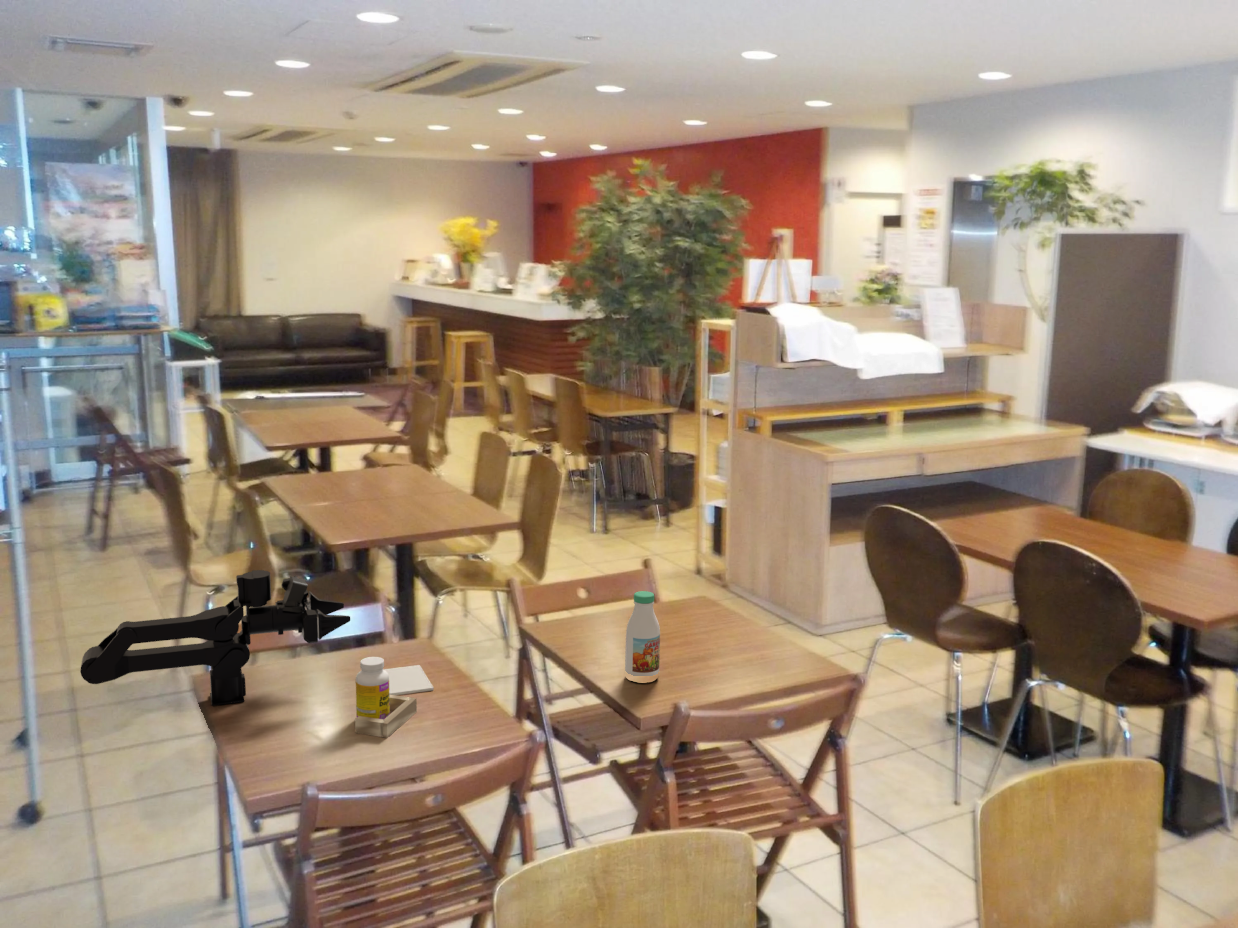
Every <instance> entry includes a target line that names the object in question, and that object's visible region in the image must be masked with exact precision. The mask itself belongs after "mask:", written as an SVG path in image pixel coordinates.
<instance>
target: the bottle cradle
mask: <svg viewBox="0 0 1238 928" xmlns="http://www.w3.org/2000/svg"><path fill="white" fill-rule="evenodd" d="M389 699H390V715H389V716H387V717H386V718H385V719H384V720H383V719H376V718H370V717H363V716H358V717H357V716H356V717H355V719H354V723H355V727H354V730H355V732H354V733H355V734H359V735H366V736H371V737H379V738H386V739H387V738H389V737H390V736H392V734H393V733H395V732H396V731H397V730H398V729H399V728H400V727H402V726H403V725H404V724H405V723H406V722H407V721H408V720H409V719H411V718H412V717H413V716H414V715H415V714H416V713H417V710H418V709H417V708H418V706H417V705H418V704H417V697H410V696H409V697H408V696H402V695H390V694H389Z"/></svg>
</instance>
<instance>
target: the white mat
mask: <svg viewBox="0 0 1238 928" xmlns="http://www.w3.org/2000/svg"><path fill="white" fill-rule="evenodd" d="M383 670H385V671H386V672H387V673H388V674H389V694H390V695H397V696H402V695H409V694H415V693H423V692H430V691H432V692H433V691H434V690H435V688H434V685H433V684H432V682H431V681H430V679H429V678H428V676H427V674H426V672H425V671H424V669H423V668H422V666H421V665H420V664H417V665H416V664H414V665H408V666H400V667H392V668H383Z"/></svg>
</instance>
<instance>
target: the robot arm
mask: <svg viewBox="0 0 1238 928" xmlns="http://www.w3.org/2000/svg"><path fill="white" fill-rule="evenodd" d="M235 578H236V581H235V582H236V585H237V596H236V597H234V598H233V599H232V600H231V601H229V602H227V604H226V605H224V606H222V605H221V606H217V607H214V608H210V609H205V610H203V611H201V612H199V613H197V614H193V615H190V616H189V615H188V616H178V617H169V618H160V619H159V618H158V619H149V620H139V621H137V620H136V621H130V620H129V621H128V620H126V621H123V622H121V623H120V624H119V625H118V626H117V627H116V629H114V630H113V631H112V632H111V633H110V634H108V635H107V636H106V637H105V638H103V640H102V641H101V642H100V643H98V645H95V646H92V647H90V648H88V650H86V651H85V652H84V653H83V655H82V659H81V664H80V675H81V678H82V679H83V680H84V681H85V682H87V683H88V684H90V685H100V684H104V683H106V682H112V681H115V680H117V679H119V678H122V677H123V676H126V675H128V674H131V673H132V674H133V673H140V672H149V671H156V670H158V671H159V670H168V669H177V668H184V667H185V668H186V667H195V666H208V667H210V670H209V680H210V681H209V682H210V683H209V684H210V693H209V695H210V703H211V706H213V707H214V706H223V705H230V704H236V703H244V702H245V696H247V693H246V691H247V688H246V675H245V673H243V670H242V668H243V667H244V666H245V665H246V664H247V663H248V662H249V659H250V658H251V657H250V655H251V653H250V648H249V646H250V645H251V636H252V635H260V634H271V633H277V635H278V636H281V635H284V632H291V631H297V632H298V634H301V636H302V637H303V638H302V639H303V640H304V641H305V642H307V644H316V643H318V642H319V640H322V638H324V637H325V636H327V635H328V634H330V633H331V632H333V631H335V630H337V629H339V628H340V627H342V626H344V625H346V624H348V623H349V622H350V621H351V616H350V615H345V614H344V615H343V614H339V615H337V614H332V613H334V612H337V611H339V610H342V609H344V608H345V603H344V602H341V601H335V600H328V599H324V598H323V599H322V598H318V597H317V596H316V595H314V594H313V592H311V591H308V583H307V580H306V579H302V578H299V577H298V576H297V575H294V576H292V575H291V576H290V577H289V578H284V579H283V580H282V582H281V587H282V590H284V594H283V595H284V596H283V599H281V600H277V601H276V602H275V604H273V605H267V604H268V602H269V601H270V600H271V599H272V586H271V584H272V581H271V572H270V571H268V570H263V569H257V570H256V569H255V570H254V569H253V570H251V571H248V572H245V573H243V574H237V575H236V577H235ZM244 607H245V615H244ZM240 622H241V626H240ZM240 627H241V631H240V632H239V629H240ZM182 639H200V640H205V642H200V643H190V644H181V645H171V646H162V647H151V648H142V649H141V648H140V649H130V647H131V646H132V645H134V644H144V643H155V642H163V641H165V642H166V641H173V640H174V641H175V640H182Z"/></svg>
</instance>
